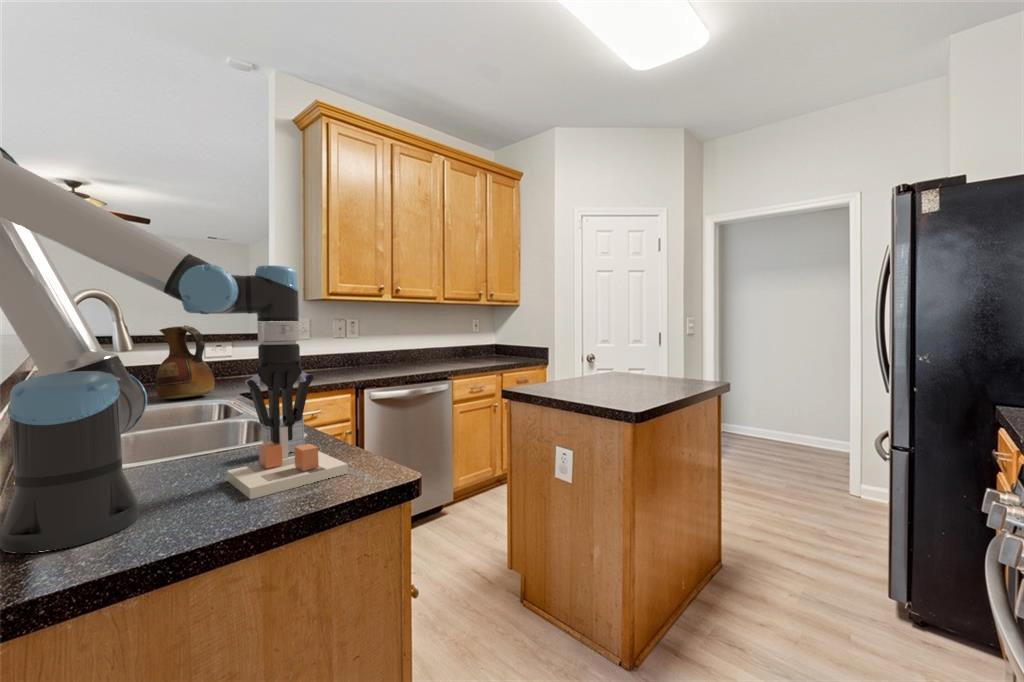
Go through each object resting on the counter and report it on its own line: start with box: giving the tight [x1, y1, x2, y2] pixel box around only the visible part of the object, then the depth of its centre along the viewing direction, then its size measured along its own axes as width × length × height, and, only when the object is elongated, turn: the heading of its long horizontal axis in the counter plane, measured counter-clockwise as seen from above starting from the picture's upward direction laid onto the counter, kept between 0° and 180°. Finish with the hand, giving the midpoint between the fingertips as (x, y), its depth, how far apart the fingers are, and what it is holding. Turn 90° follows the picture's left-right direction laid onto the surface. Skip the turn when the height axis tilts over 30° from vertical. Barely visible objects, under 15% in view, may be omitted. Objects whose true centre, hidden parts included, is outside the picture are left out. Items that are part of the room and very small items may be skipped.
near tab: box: [293, 443, 319, 471], centre depth 90 cm, size 3×4×4 cm
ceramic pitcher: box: [155, 325, 216, 400], centre depth 187 cm, size 20×20×30 cm
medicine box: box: [261, 414, 305, 454], centre depth 109 cm, size 8×4×9 cm, turn 141°
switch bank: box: [226, 450, 349, 500], centre depth 91 cm, size 18×14×2 cm
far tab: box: [258, 442, 283, 468], centre depth 92 cm, size 3×4×4 cm
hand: (282, 457), depth 94 cm, fingers closed
